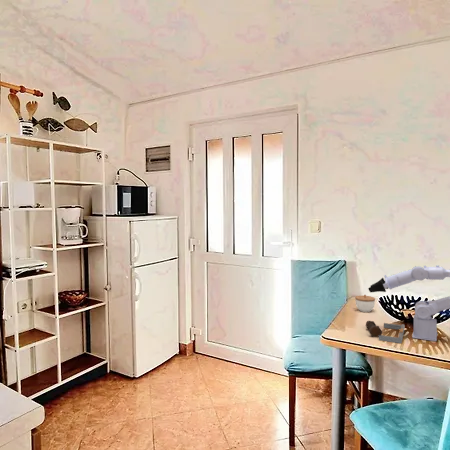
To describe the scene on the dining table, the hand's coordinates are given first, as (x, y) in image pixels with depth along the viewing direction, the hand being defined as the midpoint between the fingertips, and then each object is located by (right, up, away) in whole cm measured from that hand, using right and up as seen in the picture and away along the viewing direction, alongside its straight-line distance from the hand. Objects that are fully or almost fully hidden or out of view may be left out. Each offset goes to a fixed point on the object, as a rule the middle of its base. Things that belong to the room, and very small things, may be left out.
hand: (370, 289), depth 174 cm
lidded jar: (+11, -19, +35) cm, 42 cm away
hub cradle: (+7, -20, -6) cm, 22 cm away
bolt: (0, -21, -2) cm, 21 cm away
